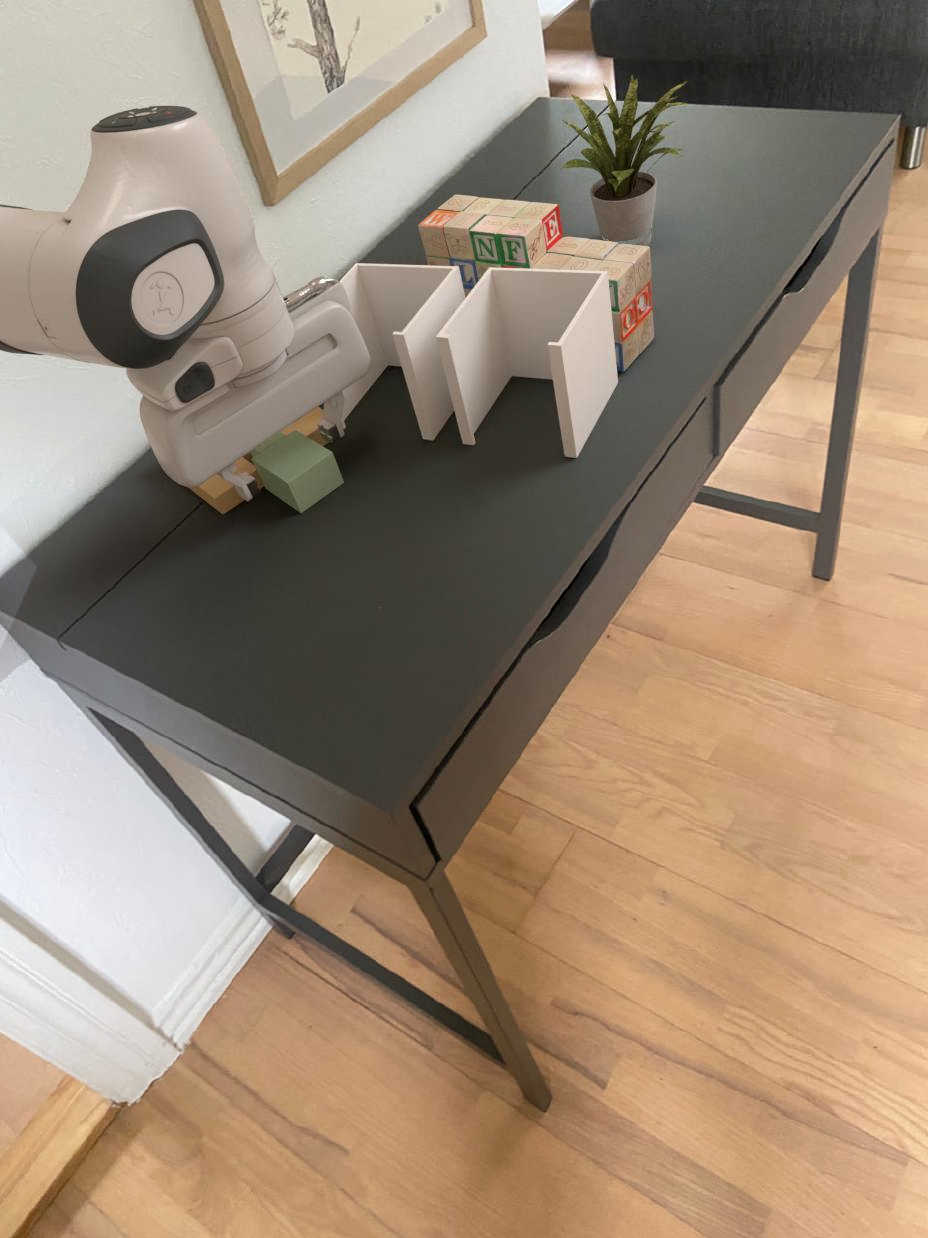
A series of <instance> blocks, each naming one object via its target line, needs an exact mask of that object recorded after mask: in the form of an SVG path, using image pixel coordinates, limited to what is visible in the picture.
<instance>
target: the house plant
mask: <svg viewBox="0 0 928 1238" xmlns="http://www.w3.org/2000/svg"><path fill="white" fill-rule="evenodd" d="M638 79H639V76H638V77H637V78H634V73H632V74H631V75H630V79H629V85H628V90H627V92H626V95H625V97H624V101H623V103H622V109H621V111H620V114H619V110H618V108H617V105H616V103H615V101H614V99H613V97H612V95H611V92H610V90H609V88H608V87H607V86H606V84H604V82H602V84H603V88H604V91H605V94H606V100H607V104H608V108H609V112H605V113H603V114H602V116H604V115H607V116H608V118H609V120H610V121H611V124H612V132H611V133H612V135H613V141H614V146H615V150H614V151H613V149H612V146H610V144H609V141H608V138H607V135H606V133H605V129H604V128H603V126H602V123H601V121H600V119H599V117H598V115H597V113H596V112H595V110H594V109H593V108H592V107H591V106H590V105H588V104H587V103H586V102H585V101H584V100H583V99H582V98H581V97H579V96H577V95H575V94H572V93H570V96H571V97H572V99H573V101H574V102H575V104H576V106H577V107H578V110H579V112H580V113H581V114H582V117H583V118H584V121H585V123H586V125H587V128H588V131H589V133H587V132H586V131H584V130H583V129H582V128H580V127H579V126H577V125H576V124H575V123H572V122H570V121H566V120H564V119H563V120H562V119H561V121H562V122H563V123H565V125H566V126H569V127H570V128H571V129H573V130H574V131H575V132H576V133H577V134H578V135H579V136H580V137H581V138H582V139H583V140H585V142H587V143H588V145H589V146H590V148H589V147H586V148H583V149H582V150H581V151H580V154H581V155H582V156H583V157H584V158H585V159H586V160H585V159H581V158H574V159H570V160H569V161H566V163H565V164H564V165H563V166H562V167H561V169H560V170H562V169H570V168H571V169H572V168H584V169H585V168H586V169H592V170H594V171H596V172H597V173H599V174H600V176H601V177H602V178H600V179H598V180H597V181H595V182H594V183H593V184H592V185H591V188H589V196H590V200H591V203H592V208H593V211H594V214H595V219H596V222H597V226H598V230H599V233H600V236H601V235H602V236H603V237H604V238H605V239H608V240H609V241H615V242H617V241H618V242H619V241H628V240H633V239H636V238H639V237H641V236H644V235H646V234H647V233H648V232H649V231H650V230H651V228H652V229H653V226H654V217H655V207H656V198H657V189H658V179H657V177H656V176H655V175H653V174H652V173H650V172H649V171H650V170H651V168H648V170H647V171H644V170H641V167H642V165H643V164H644V163H645V162H646V161H647V160H648V159H649V158H651V157H652V156H654V155H660V154H661V156H660V157H659V158H658V159H657V160H656V161H655V162H654V163H653V165H655V164H657V163H658V161H659V160H661V158H663V157H664V156H665V155H668V154H670V155H671V154H672V155H677V156H678V157H680V158H681V159H682V161H684V160H683V158H682V156H681V155H680V153H679V151H683V149H682V148H681V149H680V148H671V147H665V146H663V147H659V148H655V147H656V146H657V145H659V144H660V143H661V142H662V141H663V140H664V139H665V138H667V136H665V135H661V133H662V132H663V130H664V129H665V128H667V127H670V126H671V124H673V123H674V122H675V120H673V121H670V122H667V123H660V124H657V125H655V126H654V123H655V122H656V120H657V118H658V117H659V115H661V113H662V112H664V111H666V110H667V109H669V108H673V107H677V106H683V105H686V104H688V102H684V101H683V102H682V101H679V102H678V101H677V102H672V103H670V102H671V101H674V100H675V99H677V98H678V97H679V95H676V96H673V97H671V96H672V95H673V94H674V93H675V92H676V91H678V90H679V89H680V88H682V87H683V86H685V85H686V84H687V83H688V82H689V80H686V81H684V82H682V83H680V84H678V85H676V86H675V87H673V88H671V89H670V90H668V91H667V92H666V93H664V94H663V95H662V96H661V97H660V98H659V99H658V100H657V102H656V103H655V104H654V105H653V107H651V108H649V110H647V111H645V112H643V114H641V115H639V116H638V117H636V115H637V110H638V106H639V103H638V102H639V101H638V96H637V95H638V94H637V91H638V87H639V81H638ZM641 120H643V121H642V123H641V126H640V127H639V130H638V131H637V132H636V133H635V134H634V135H633V129H634V127H635V126H636V125H637V124H638V123H639V122H640V121H641ZM653 126H654V127H653ZM650 133H652V134H651V136H649V137H648V135H649V134H650ZM632 135H633V136H632ZM654 148H655V149H654ZM652 234H653V232H652V233H651V234H650V236H649V237H648V238H647V239H645V240H643V241H641V242H639V243H636V244H633V245H641V246H649V245H650V244H651V242H652V236H653V235H652Z"/></svg>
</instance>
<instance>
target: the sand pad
mask: <svg viewBox="0 0 928 1238" xmlns="http://www.w3.org/2000/svg"><path fill="white" fill-rule="evenodd" d="M323 412H324V408H321V407H320V406H318V407H317V408H315V409H314V410H312V411H311V412H309V413H308V414H306V415H305V416H303V417H302V418H300V419H299V420H297V421H296V422H294V423H293V424H291V425H290V426H288V427H287V428H285V429H284V430H282V431H281V432H282V433H283V434H285V435H288V434H289V433H291V432H292V431H294V430H297V431H298V432H300V433H302V434H303V435H305V436H306V437H308V438H310V439H311V440H313V441H315V442H316V443H318V444H320V445H321V446H323V447H324V446H326V445H327V444H330V443H329V441H326V440H324V439H323V437H322V436H321V433H320V432H321V430H320V429H319V428H318V426H317V422H319V421H320V420H321V419H323ZM252 458H253V456H252V454H251V452H249V453H247V454H246V455H244V456H243V457H241V458H240V459H238V460H237V461H235V462H234V464H235V466H236V469H237V471H236V472H235V473H233V474H235V475H237V476H238V475H239V474H241V473H242V472H244V471H245V472H247V473H248V474H249V476H252V477H254V478H255V479H256V481H257V483H258V487H259V488H260V490H261V489H263V488H265V487H264V485H263V482H262V480H261V478H260V476H259V474H258V472H257V470H256V468H255V466H254V463H253V461H252ZM187 488H188V489H189V490H191V492H193V493H194V494H195V495H197V496H198V497H199V498H201V499H202V500H203V501H205V502H206V503H207V504H208V505H210V506H211V507H212V508H214V509H215V510H217V511H218V513H220V514H221V515H225V514H226V513H228V512H230V511H231V510H232V509H234V508H235V507H236V506H238V505H239V504H241V503H243V501H245V500H244V499H243V498H242V497H241V496H240V495H239V494H238V493H237V491H236V489H235V487H234V485H233V484H232V483H230V482H228V481H226V480H224V479H223V478H221V477H220V476H219V475H217V474H216V475H214V476H213V477H211V478H210V479H208V480H207V481H205V482H204V483H202V484H201V485H199V486H198V487H196V488H189V487H187Z"/></svg>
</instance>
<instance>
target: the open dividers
mask: <svg viewBox="0 0 928 1238" xmlns="http://www.w3.org/2000/svg"><path fill="white" fill-rule="evenodd" d="M338 281H339V282H340V283H341V284H342V285H343V286H344V288H345V291H346V294H347V297H348V300H349V304H350V314H351V316H352V318H353V319H354V321H355V323H356V325H357V327H358V329H359V331H360V333H361V335H362V337H363V339H364V342H365V344H366V347H367V349H368V352H369V354H370V358H371V362H370V366H369V370H368V373H367V374H366V375H365V376H364V377H362V378H361V379H359V380H358V381H356V382H355V383H353V384H352V385H350V386H349V387H347V388H346V389H344V390H343V391H342V393H343V396H344V398H345V401H344V407H343V412H342V418H341V420H340V422H341V425H342V428H343V430H345V429H346V427H347V426H346V423H345V420H346V419H347V418H348V416H349V415H350V414H351V413H352V411H353V410H354V409H355V407H357V405H358V404H359V403H360V401H361V400H362V399H363V398H364V396H365V395H366V394H367V393H368V391H369V390H370V388H371V387H372V386H373V385H374V384H375V383H376V381H377V380H378V378H379V377H380V376H381V375H382V373H383V372H384V371H385V370H386V368H387V367H388V366H391V367H392V366H393V367H401V369H402V372H403V377H404V379H405V380H404V381H405V383H406V386H407V391H408V392H409V396H410V400H411V404H412V407H413V410H414V413H415V417H416V420H417V424H418V427H419V431H420V434H421V437H422V440H427V441H434V440H435V439H436V437H437V436H438V434H439V433H440V431H442V430H443V428H444V426H445V425H446V423H447V422H448V420H449V419H450V417H451V416H452V415H453V413H454V414H455V418H456V422H457V427H458V430H459V434H460V438H461V442H462V445H467V446H475V444H476V439H475V433H476V432H477V430H478V429H479V427H480V425H481V424H482V422H483V421H484V419H485V418H486V416H487V415H488V413H489V412H490V410H491V408H492V407H493V406H494V404H495V403H496V401H497V399H498V398H499V396H500V395H501V393H502V392H503V391H504V389H505V387H506V385H507V384H508V383H509V381H510V380H511V379H512V377H517V378H531V379H539V380H540V379H541V380H552V382H553V389H554V396H555V404H556V409H557V416H558V422H559V428H560V435H561V442H562V448H563V455H564V458H565V457H566V458H571V459H572V458H573V459H578V457H579V455H580V453H581V452H582V450H583V448H584V446H585V444H586V442H587V441H588V439H589V437H590V435H591V433H592V432H593V430H594V428H595V426H596V424H597V423H598V421H599V419H600V416H602V413H603V411H604V409H605V408H606V406H607V404H608V402H609V401H610V398H611V396H612V395H613V393H614V391H615V389H616V387H617V386H618V384H619V378H618V371H617V365H616V354H615V344H614V333H613V322H612V312H611V301H610V290H609V279H608V271H586V270H555V269H524V268H492V267H489V268H488V270H487V271H486V272H485V273H484V275H483V276H482V277H481V279H480V280H479V281H478V283H477V284H476V285H475V287H474V288H473V289H472V290H471V292H470V293H469V294H468V296H467V297H466V298H465V293H464V289H463V284H462V280H461V275H460V271H459V266H430V265H428V264H397V263H395V264H394V263H393V264H391V263H365V262H364V263H363V262H356V263H355V264H354V265H352V267H351V268H350V269H348V271H347V272H346V273H345V275H343V277H342V278H341V279H340V280H338Z"/></svg>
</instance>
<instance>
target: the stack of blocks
mask: <svg viewBox="0 0 928 1238" xmlns="http://www.w3.org/2000/svg"><path fill="white" fill-rule="evenodd" d="M417 228H418V231H419V235H420V238H421V239H420V240H421V242H422V245H423V249H424V253H425V259H426V262H427V265H430V266H459V271H460V275H461V280H462V284H463V289H464V293H465V298H466V297H467V296H468V294H469V293H470V292H471V290H472V289H473V288H474V287H475V285H476V284H477V283H478V281H479V280H480V279H481V277H482V276H483V275H484V273H485V272H486V271H487V270H488V268H489V267H492V268H524V269H555V270H586V271H608V279H609V290H610V301H611V312H612V322H613V333H614V344H615V354H616V365H617V372H622V373H623V372H625V371H626V370H627V369H628V368H629V367H630V366H631V364H632V363H633V362H634V361H636V359H637V358H638V357H639V355H640V354H642V353H643V351H644V350H646V348H647V347H648V346H649V345H650V344H651V343H652V341H653V340H654V338H655V324H654V311H653V309H654V303H653V289H652V280H651V279H652V261H651V259H652V258H651V247H650V246H649V245H648V246H641V245H632V244H625V243H622V244H620V243H618V242H612V241H603V240H602V239H594V238H593V239H590V238H587V237H579V236H578V237H575V236H564V233H563V232H564V231H563V226H562V219H561V211H560V206H559V204H558V203H549V202H537V201H526V200H516V199H502V198H492V197H491V198H490V197H479V196H475V195H474V196H473V195H465V194H454V195H453V196H451V197H450V198H449V199H447V200H446V201H445V202H444V203H442V204H441V205H440V206H438V207H437V209H436V210H434V211H432V212H431V213H430V214H429V215H428V216H426V217H425V218H424V219H423V220H422V221H421V222H419V224H418V225H417Z"/></svg>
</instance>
